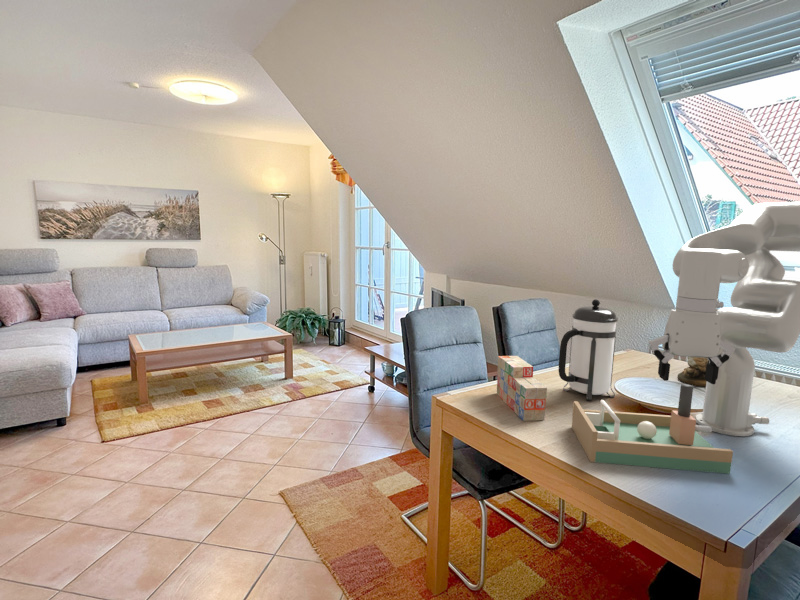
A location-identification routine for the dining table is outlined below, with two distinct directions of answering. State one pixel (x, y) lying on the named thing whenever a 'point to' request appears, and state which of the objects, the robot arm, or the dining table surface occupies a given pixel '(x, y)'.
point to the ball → (646, 430)
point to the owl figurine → (694, 372)
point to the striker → (685, 419)
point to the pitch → (642, 442)
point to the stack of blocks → (520, 388)
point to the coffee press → (590, 350)
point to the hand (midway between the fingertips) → (686, 380)
